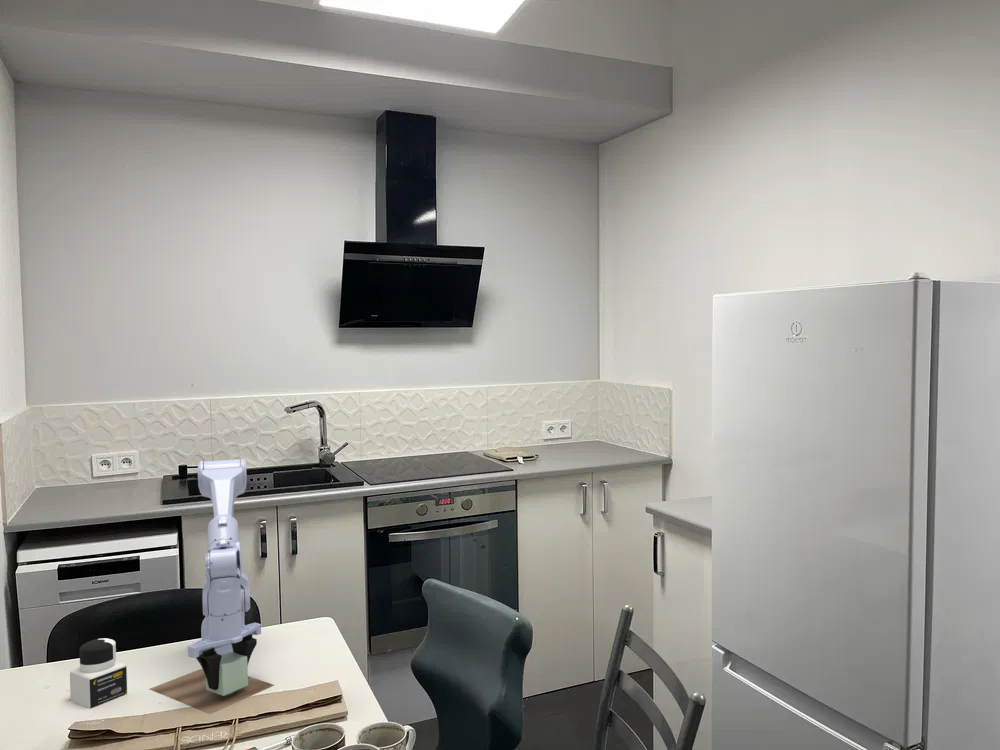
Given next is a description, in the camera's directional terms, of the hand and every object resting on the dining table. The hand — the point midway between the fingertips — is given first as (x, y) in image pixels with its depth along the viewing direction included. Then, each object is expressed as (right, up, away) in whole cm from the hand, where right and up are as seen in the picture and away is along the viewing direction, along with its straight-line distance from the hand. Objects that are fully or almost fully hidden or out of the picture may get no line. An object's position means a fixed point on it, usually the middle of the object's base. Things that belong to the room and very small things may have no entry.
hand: (227, 682), depth 139 cm
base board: (-4, -4, +3) cm, 6 cm away
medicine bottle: (-24, -4, 0) cm, 25 cm away
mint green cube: (0, -1, 0) cm, 1 cm away
